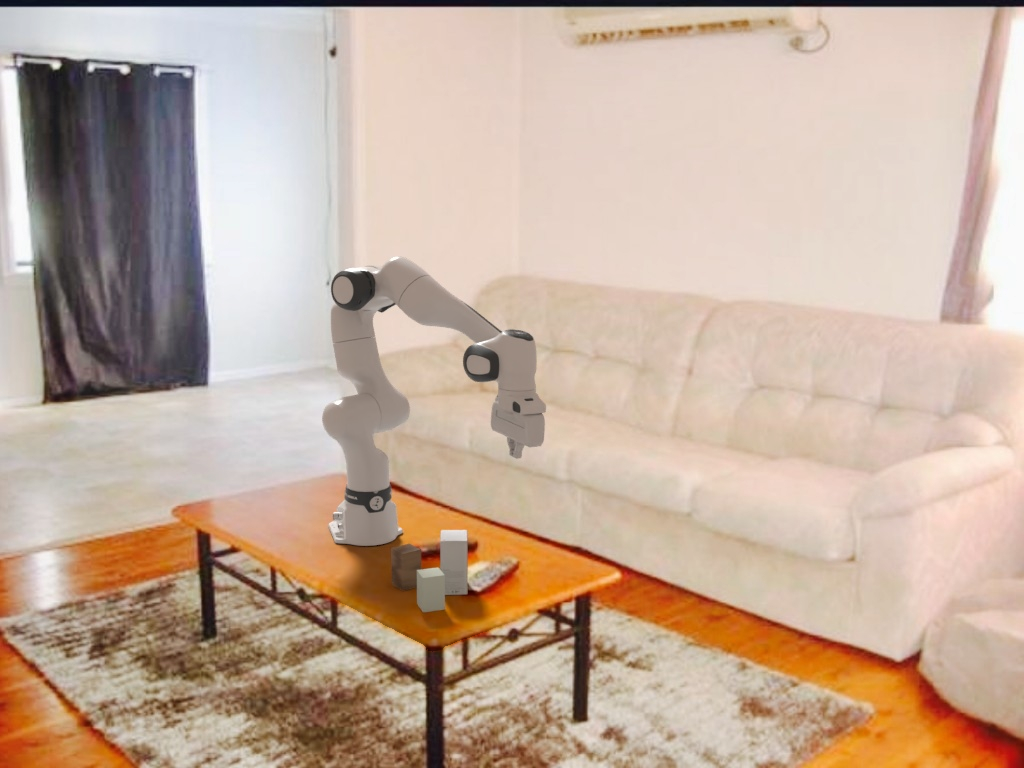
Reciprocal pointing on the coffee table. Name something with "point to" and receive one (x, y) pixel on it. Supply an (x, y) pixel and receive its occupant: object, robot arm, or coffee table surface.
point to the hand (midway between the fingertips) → (515, 457)
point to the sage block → (430, 589)
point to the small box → (454, 561)
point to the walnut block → (405, 566)
